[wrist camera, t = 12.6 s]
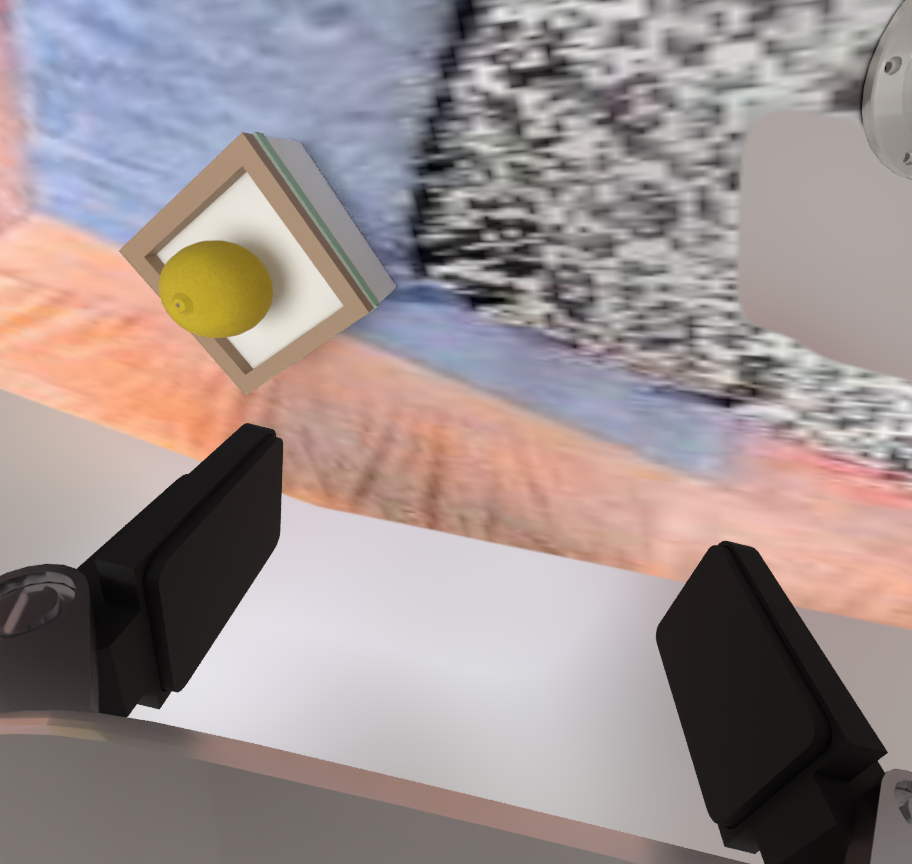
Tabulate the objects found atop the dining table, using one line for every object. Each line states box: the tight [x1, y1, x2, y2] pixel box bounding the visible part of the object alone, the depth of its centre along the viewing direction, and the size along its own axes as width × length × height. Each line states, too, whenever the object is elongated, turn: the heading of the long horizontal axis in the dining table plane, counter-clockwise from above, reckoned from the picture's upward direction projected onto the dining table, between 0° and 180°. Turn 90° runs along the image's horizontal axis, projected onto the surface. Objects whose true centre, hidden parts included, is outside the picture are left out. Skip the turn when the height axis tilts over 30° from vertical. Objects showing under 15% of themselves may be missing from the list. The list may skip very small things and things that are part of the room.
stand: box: [119, 132, 396, 395], centre depth 34 cm, size 12×12×8 cm
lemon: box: [159, 240, 273, 338], centre depth 28 cm, size 6×6×8 cm
